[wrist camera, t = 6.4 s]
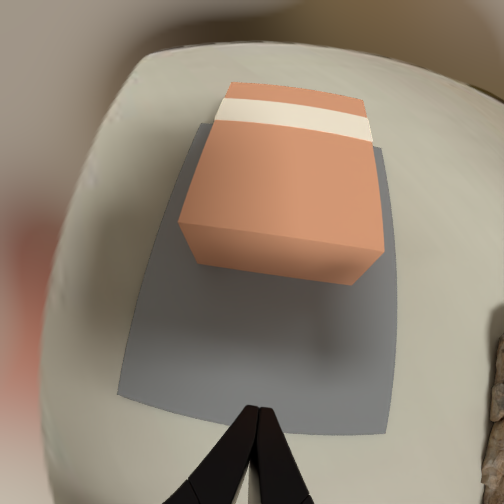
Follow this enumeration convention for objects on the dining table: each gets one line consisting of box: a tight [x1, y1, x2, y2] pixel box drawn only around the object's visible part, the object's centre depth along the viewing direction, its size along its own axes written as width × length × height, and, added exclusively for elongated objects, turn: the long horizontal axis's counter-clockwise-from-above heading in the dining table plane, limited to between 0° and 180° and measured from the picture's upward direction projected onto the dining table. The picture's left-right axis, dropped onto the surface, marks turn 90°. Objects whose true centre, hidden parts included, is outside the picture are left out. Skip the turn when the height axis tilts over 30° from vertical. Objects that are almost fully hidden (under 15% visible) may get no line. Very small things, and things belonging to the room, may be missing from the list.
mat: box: [117, 123, 397, 435], centre depth 18 cm, size 22×16×1 cm
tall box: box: [178, 82, 385, 286], centre depth 17 cm, size 5×10×12 cm
